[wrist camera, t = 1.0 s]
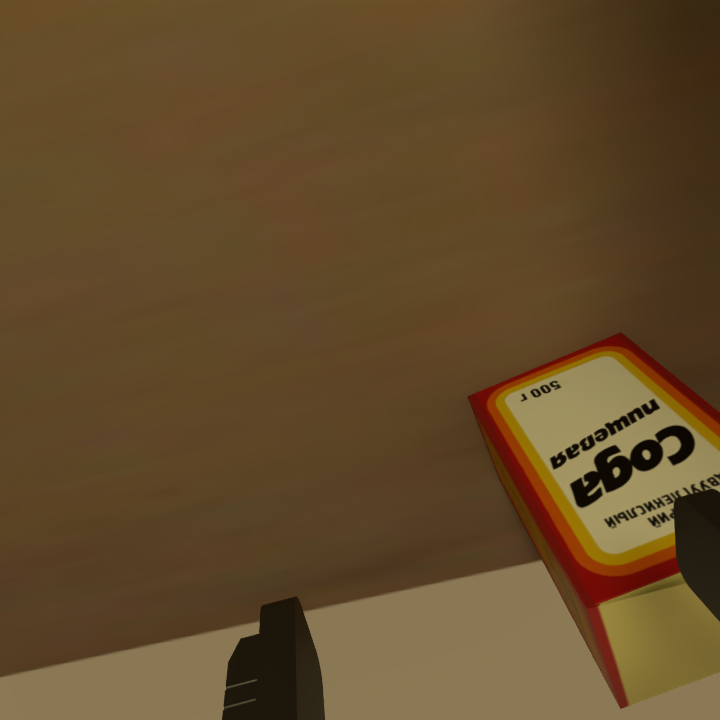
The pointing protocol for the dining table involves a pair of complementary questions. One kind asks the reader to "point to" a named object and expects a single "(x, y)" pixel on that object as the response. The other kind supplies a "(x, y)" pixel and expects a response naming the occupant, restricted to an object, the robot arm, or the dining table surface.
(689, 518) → the robot arm
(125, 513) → the dining table surface
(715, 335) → the dining table surface
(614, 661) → the baking soda box
